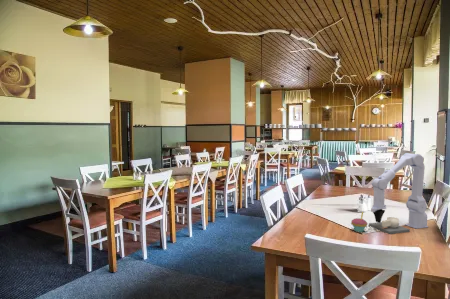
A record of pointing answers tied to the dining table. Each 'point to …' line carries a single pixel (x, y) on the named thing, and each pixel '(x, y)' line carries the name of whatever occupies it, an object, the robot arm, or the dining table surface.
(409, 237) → the dining table surface
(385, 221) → the cream ball joystick
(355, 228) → the cupcake
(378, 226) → the post board
